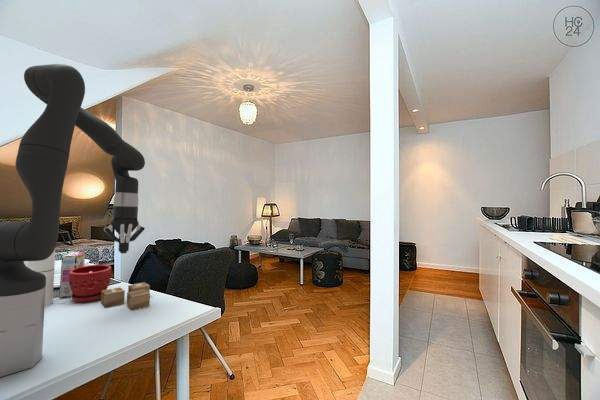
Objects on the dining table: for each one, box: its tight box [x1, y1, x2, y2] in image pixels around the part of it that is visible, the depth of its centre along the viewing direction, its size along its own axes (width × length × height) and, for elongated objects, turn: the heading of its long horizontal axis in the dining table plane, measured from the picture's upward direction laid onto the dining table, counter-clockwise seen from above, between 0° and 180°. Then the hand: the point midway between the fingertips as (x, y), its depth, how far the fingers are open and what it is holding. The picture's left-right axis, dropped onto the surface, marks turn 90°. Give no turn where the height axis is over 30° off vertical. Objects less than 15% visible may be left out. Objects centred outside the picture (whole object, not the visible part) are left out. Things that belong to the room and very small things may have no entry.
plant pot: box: [69, 264, 112, 303], centre depth 104 cm, size 13×13×12 cm
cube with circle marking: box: [127, 281, 151, 293], centre depth 106 cm, size 6×6×5 cm
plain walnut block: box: [126, 289, 151, 311], centre depth 97 cm, size 6×6×5 cm
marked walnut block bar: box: [100, 287, 126, 309], centre depth 99 cm, size 6×6×5 cm
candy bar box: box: [58, 251, 86, 299], centre depth 109 cm, size 11×5×16 cm, turn 25°
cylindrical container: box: [26, 249, 56, 307], centre depth 96 cm, size 7×7×25 cm
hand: (123, 253), depth 95 cm, fingers closed
